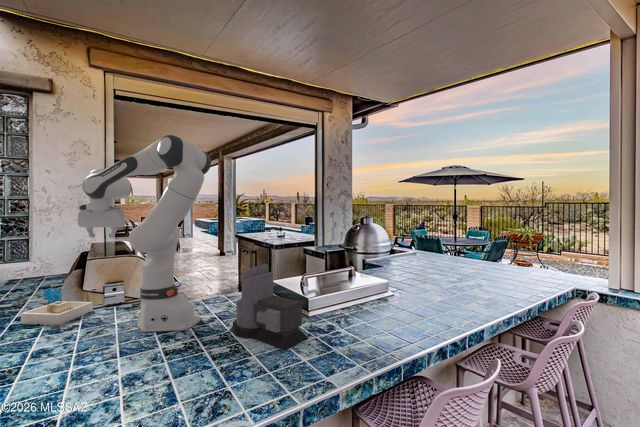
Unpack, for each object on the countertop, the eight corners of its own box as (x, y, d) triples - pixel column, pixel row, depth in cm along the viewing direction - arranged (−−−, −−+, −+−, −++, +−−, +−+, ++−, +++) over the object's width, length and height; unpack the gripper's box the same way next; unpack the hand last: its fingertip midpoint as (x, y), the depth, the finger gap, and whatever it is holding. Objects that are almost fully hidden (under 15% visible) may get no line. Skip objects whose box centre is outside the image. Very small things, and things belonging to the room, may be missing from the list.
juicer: (221, 330, 117) (220, 263, 116) (255, 318, 130) (254, 257, 129) (280, 353, 98) (279, 274, 98) (313, 336, 111) (312, 266, 110)
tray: (92, 311, 138) (92, 302, 138) (59, 325, 122) (58, 314, 122) (58, 310, 139) (58, 301, 139) (20, 323, 124) (20, 313, 123)
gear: (53, 304, 142) (40, 288, 144) (43, 314, 142) (30, 297, 144) (74, 300, 153) (62, 285, 154) (65, 309, 153) (53, 294, 154)
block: (69, 313, 133) (69, 301, 133) (58, 317, 128) (58, 305, 128) (58, 313, 133) (58, 301, 133) (47, 317, 128) (46, 304, 128)
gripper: (128, 206, 145) (128, 236, 145) (86, 206, 147) (86, 236, 147) (118, 206, 138) (118, 238, 139) (74, 206, 141) (75, 238, 141)
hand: (102, 237), depth 143 cm, fingers open, 8 cm apart
